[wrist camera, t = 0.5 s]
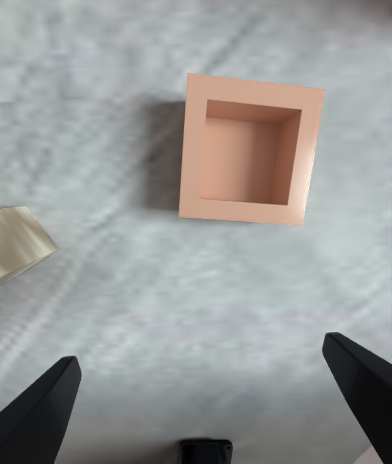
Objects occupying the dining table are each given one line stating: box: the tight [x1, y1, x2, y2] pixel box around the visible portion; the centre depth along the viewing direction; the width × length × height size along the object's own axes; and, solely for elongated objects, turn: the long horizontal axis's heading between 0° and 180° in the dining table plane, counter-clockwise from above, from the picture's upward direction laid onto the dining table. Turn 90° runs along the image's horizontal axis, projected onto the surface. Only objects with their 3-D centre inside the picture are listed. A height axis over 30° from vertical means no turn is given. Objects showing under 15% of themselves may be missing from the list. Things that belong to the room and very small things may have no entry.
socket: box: [179, 73, 325, 226], centre depth 18 cm, size 10×10×4 cm
